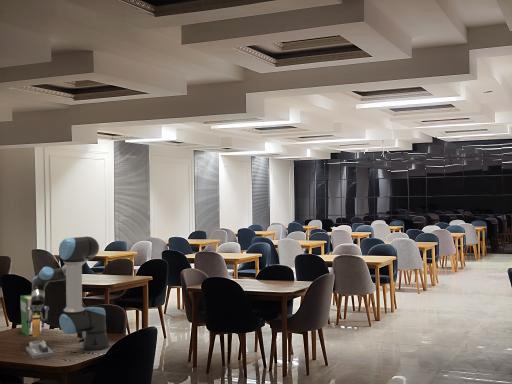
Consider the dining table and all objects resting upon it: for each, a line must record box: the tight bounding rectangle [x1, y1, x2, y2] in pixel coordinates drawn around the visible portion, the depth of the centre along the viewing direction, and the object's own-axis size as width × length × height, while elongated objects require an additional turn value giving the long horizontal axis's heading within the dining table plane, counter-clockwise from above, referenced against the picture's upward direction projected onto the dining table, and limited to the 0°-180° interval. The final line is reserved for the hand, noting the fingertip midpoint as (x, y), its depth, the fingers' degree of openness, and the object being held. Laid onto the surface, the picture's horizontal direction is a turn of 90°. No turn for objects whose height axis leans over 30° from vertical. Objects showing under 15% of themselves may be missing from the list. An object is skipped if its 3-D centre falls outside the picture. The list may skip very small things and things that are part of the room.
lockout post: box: [32, 314, 42, 338], centre depth 383 cm, size 4×4×12 cm
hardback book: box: [19, 294, 40, 337], centre depth 434 cm, size 18×7×24 cm, turn 31°
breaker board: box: [25, 339, 55, 360], centre depth 375 cm, size 26×11×6 cm, turn 28°
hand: (36, 332), depth 379 cm, fingers closed on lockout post, 4 cm apart
